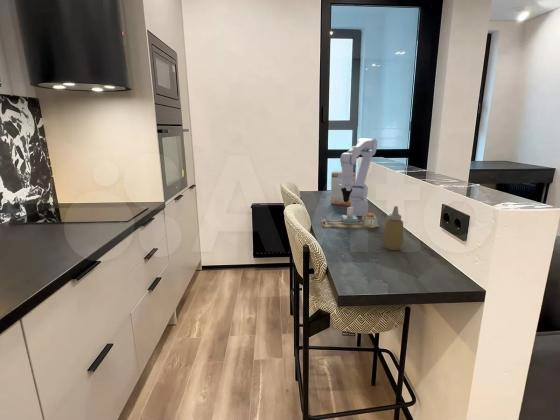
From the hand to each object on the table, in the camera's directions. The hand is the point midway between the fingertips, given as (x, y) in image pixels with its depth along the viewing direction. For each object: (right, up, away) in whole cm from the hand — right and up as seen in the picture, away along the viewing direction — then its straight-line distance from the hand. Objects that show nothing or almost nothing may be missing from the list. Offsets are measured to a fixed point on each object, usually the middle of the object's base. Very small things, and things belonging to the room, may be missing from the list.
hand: (345, 201), depth 172 cm
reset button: (+11, -10, -6) cm, 16 cm away
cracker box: (+5, -1, +38) cm, 38 cm away
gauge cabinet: (+11, -12, -5) cm, 17 cm away
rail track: (+1, -12, -5) cm, 13 cm away
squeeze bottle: (+12, -21, -36) cm, 43 cm away
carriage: (+1, -11, -5) cm, 12 cm away
